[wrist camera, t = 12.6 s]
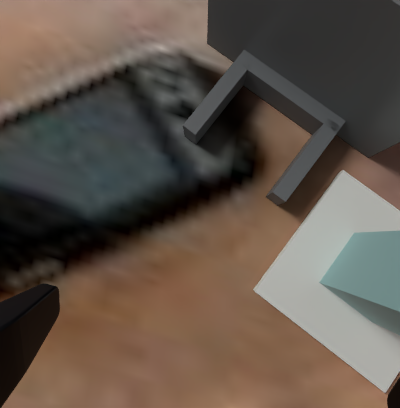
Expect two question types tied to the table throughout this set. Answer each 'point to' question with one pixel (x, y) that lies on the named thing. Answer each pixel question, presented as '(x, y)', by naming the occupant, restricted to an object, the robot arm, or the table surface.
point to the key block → (369, 277)
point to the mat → (318, 266)
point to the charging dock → (310, 72)
